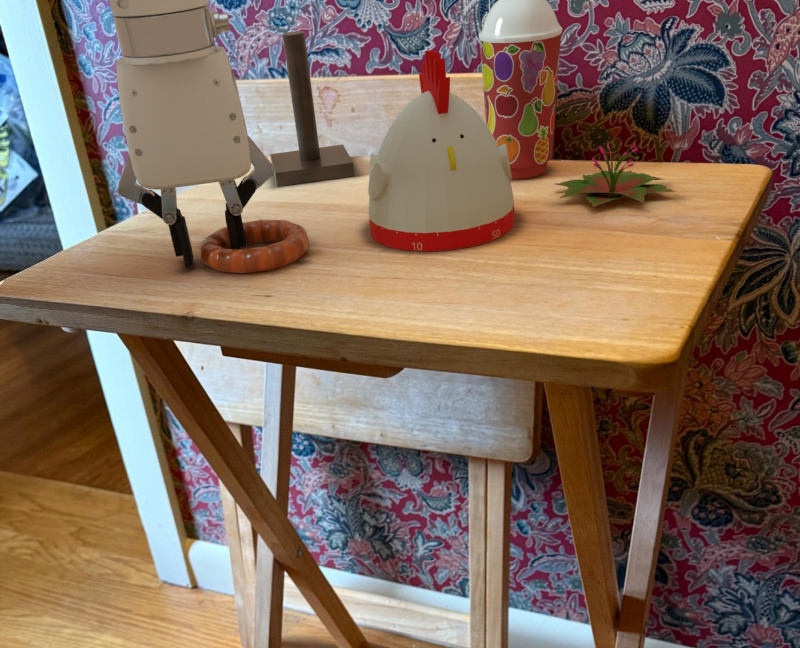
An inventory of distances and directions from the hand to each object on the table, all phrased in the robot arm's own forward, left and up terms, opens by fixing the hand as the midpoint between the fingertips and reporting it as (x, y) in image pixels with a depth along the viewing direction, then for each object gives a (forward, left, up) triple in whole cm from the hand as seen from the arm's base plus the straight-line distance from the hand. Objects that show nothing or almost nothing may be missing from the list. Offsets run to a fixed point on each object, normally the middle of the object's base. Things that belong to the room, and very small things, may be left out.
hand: (213, 257), depth 83 cm
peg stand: (+12, +27, 0) cm, 30 cm away
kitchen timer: (+22, +1, -1) cm, 22 cm away
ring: (+4, 0, +1) cm, 4 cm away
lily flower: (+40, +3, -1) cm, 40 cm away
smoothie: (+34, +15, -1) cm, 37 cm away
